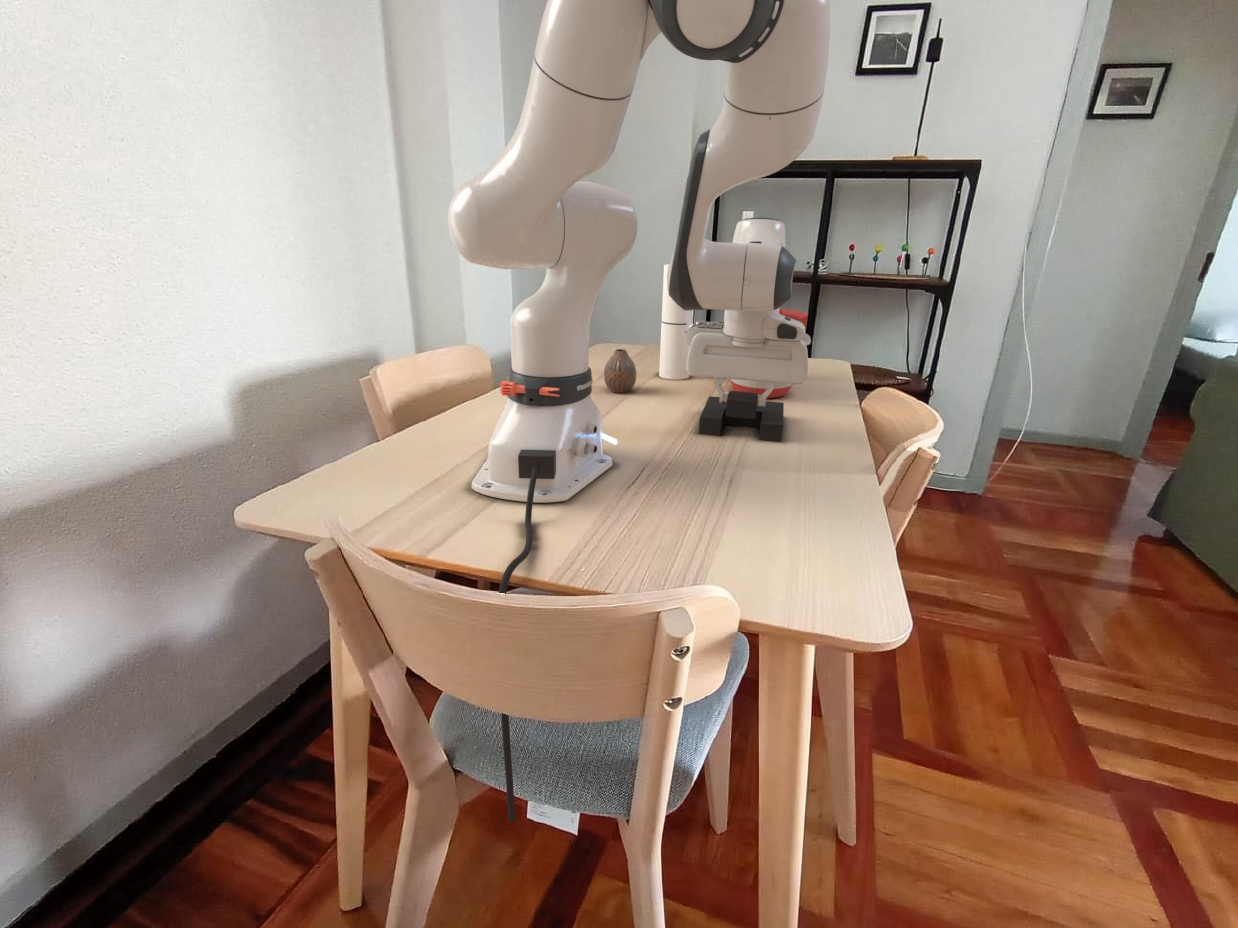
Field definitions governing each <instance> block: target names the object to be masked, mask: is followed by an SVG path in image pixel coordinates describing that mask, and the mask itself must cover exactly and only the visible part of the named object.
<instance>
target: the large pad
mask: <svg viewBox="0 0 1238 928" xmlns="http://www.w3.org/2000/svg"><path fill="white" fill-rule="evenodd" d="M706 400H707V401H706V403H705V405H704V407H703V409H702V411H701V413H700V416H699V422H698V423H699V424H698V434H699V435H709V436H719V437H720V436H721V434H722V431H723V428H724V425H730V426H731V425H732V426H742V427H751V428H759V436H758V440H760V441H768V442H769V441H770V442H779V443H780V442H782V438H783V431H784V416H785V415H784V411H785V408H784V406H785V405H784V402H781V401H769V400H766V403H765V407H759V406H757V409H756V417H755V419H749V418H738V417H727V416H726V406H727V404H726V403H719V400H720V396H711V395H709V396H708V398H707V399H706Z"/></svg>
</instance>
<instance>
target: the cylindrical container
mask: <svg viewBox="0 0 1238 928" xmlns="http://www.w3.org/2000/svg"><path fill="white" fill-rule="evenodd" d="M668 267H669V263H666V264H663V281H662V303H661V304H662V305H661V323H660V324H661V325H660V326H661V328H660V347H659V348H660V349H659V370H658V376H659V377H660V378H663V379H666V380H676V381H677V380H686V379H688V378H690V375H689V374H688V372H687V371H686V364H687V357H688V352H689V348H690V346H689V344H688V343H687V331H688V328H689V327H690V326H691V325H692V324H694V311H695V310H688V311H685V310H683V309H682V308H681V307H680V306H679V305H677V304H676V303H675V302H674V301H673V299H672V298H671V297H670V296H669V291H668V287H667V273H668Z"/></svg>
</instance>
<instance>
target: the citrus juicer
mask: <svg viewBox="0 0 1238 928" xmlns="http://www.w3.org/2000/svg"><path fill="white" fill-rule="evenodd" d="M779 314H781V315H784V316H786V317H789V318H792V319H794V320H797V321H800V322H801V323H803V325H804V326H805V335H804V338H803V340H804V341H805V343H806V346H809V345H811V343H812V339H811V336H810V335H809V334H808V333H807V332H806V331H807V324H808V314H807V313H806V312H802V311H798V310H792V309H787V308H785V309H784V308H781V307H780V312H779ZM729 382H730V384H731V387H732V391H740V392H752V393H758V394H761V395H763V393H764V392H765V390H766V389H767V388H766V382H763V381H751V380H738V379H729ZM792 387H793V384H789V383H776V382H775V383H774V389H773V390H772V392H771V393H770V394H769V396H768V397H767V398H766V400H769V399H770V398H771V399H772V398H779V397H780V398H781V397H784V396H786V395H787V394H788V393H789V392H790V390H791V388H792Z"/></svg>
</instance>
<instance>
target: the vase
mask: <svg viewBox="0 0 1238 928" xmlns="http://www.w3.org/2000/svg"><path fill="white" fill-rule="evenodd" d="M603 378H604V379H603V380H604V383H605V385H606V387H607V389H608V391H610V392H611V393H615V394H616V393H617V394H624V393H629V392H630V391H631V390H632V389H633V388H634V386H635V384H636V382H637V368H636V364H635V362H634V360H632V358H631V356H630V355H629V354H628V351H627V350H626V349H625V348H617V349H614V351H613V354H612V355H611V357H610V358H609V359H608V360H607V362H606V363H605V367H604V370H603Z"/></svg>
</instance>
